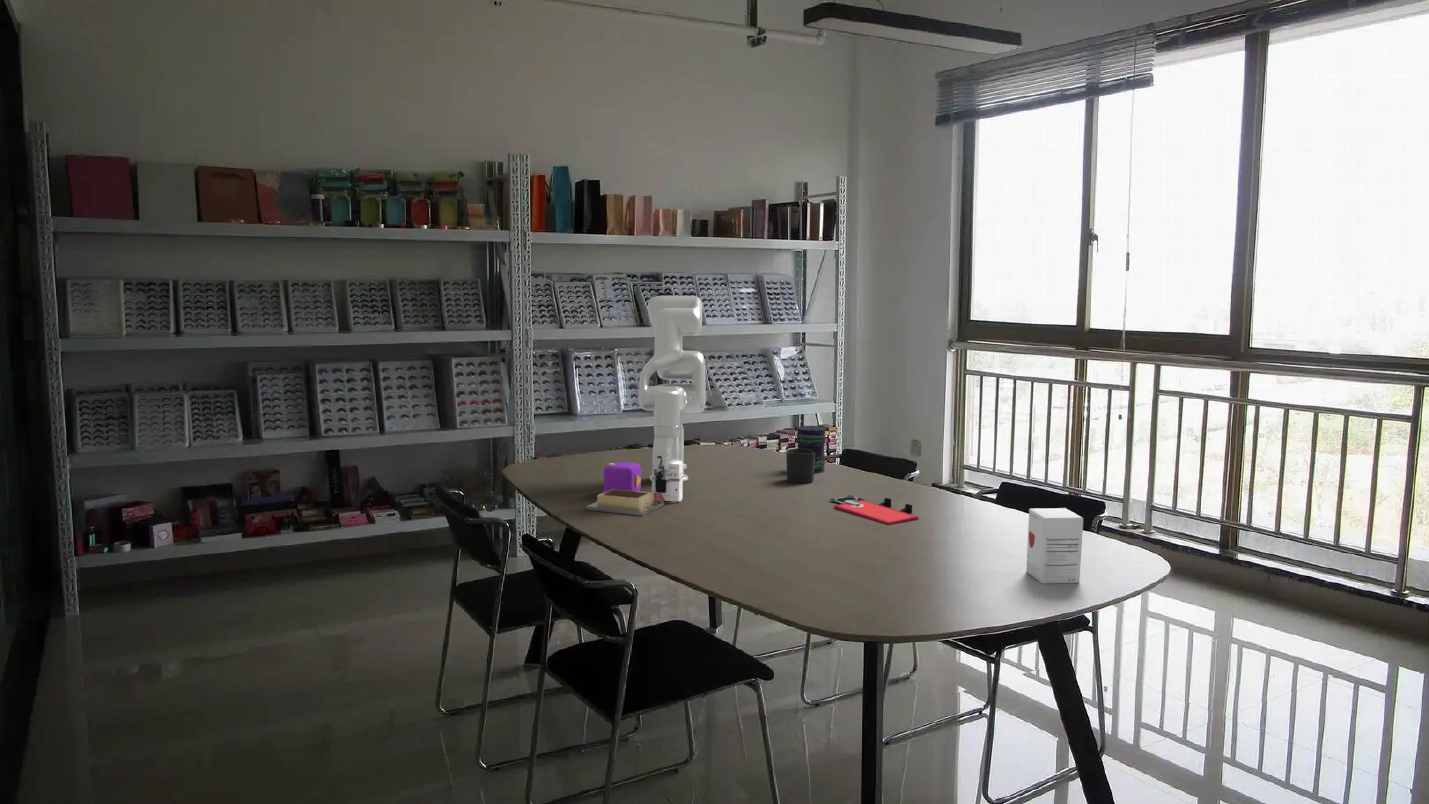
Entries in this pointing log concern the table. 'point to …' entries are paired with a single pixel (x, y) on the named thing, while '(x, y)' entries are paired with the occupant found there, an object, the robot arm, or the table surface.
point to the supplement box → (1054, 545)
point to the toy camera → (622, 476)
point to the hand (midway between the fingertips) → (666, 489)
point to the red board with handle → (875, 510)
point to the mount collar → (625, 502)
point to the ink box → (670, 483)
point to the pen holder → (800, 465)
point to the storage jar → (813, 443)
